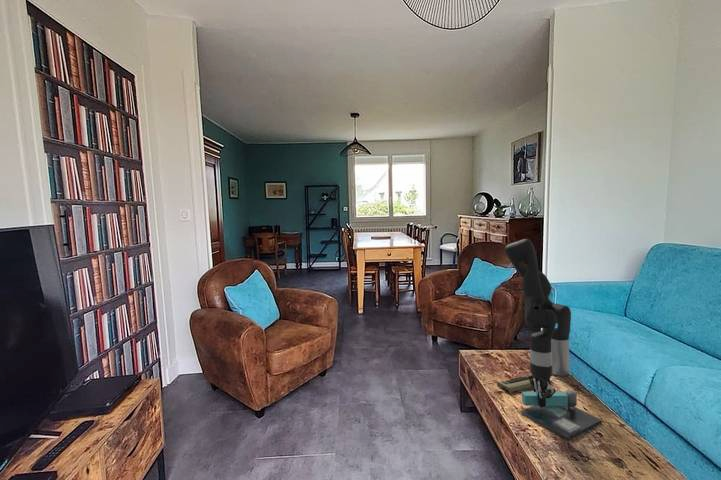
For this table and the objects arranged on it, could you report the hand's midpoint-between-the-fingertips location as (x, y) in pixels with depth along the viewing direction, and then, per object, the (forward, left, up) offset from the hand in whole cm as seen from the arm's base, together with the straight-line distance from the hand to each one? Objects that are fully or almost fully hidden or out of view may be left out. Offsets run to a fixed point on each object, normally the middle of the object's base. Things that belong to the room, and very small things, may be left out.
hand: (541, 406), depth 128 cm
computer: (-11, -20, -5) cm, 24 cm away
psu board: (-5, +4, -4) cm, 8 cm away
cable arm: (-6, -1, -1) cm, 6 cm away
